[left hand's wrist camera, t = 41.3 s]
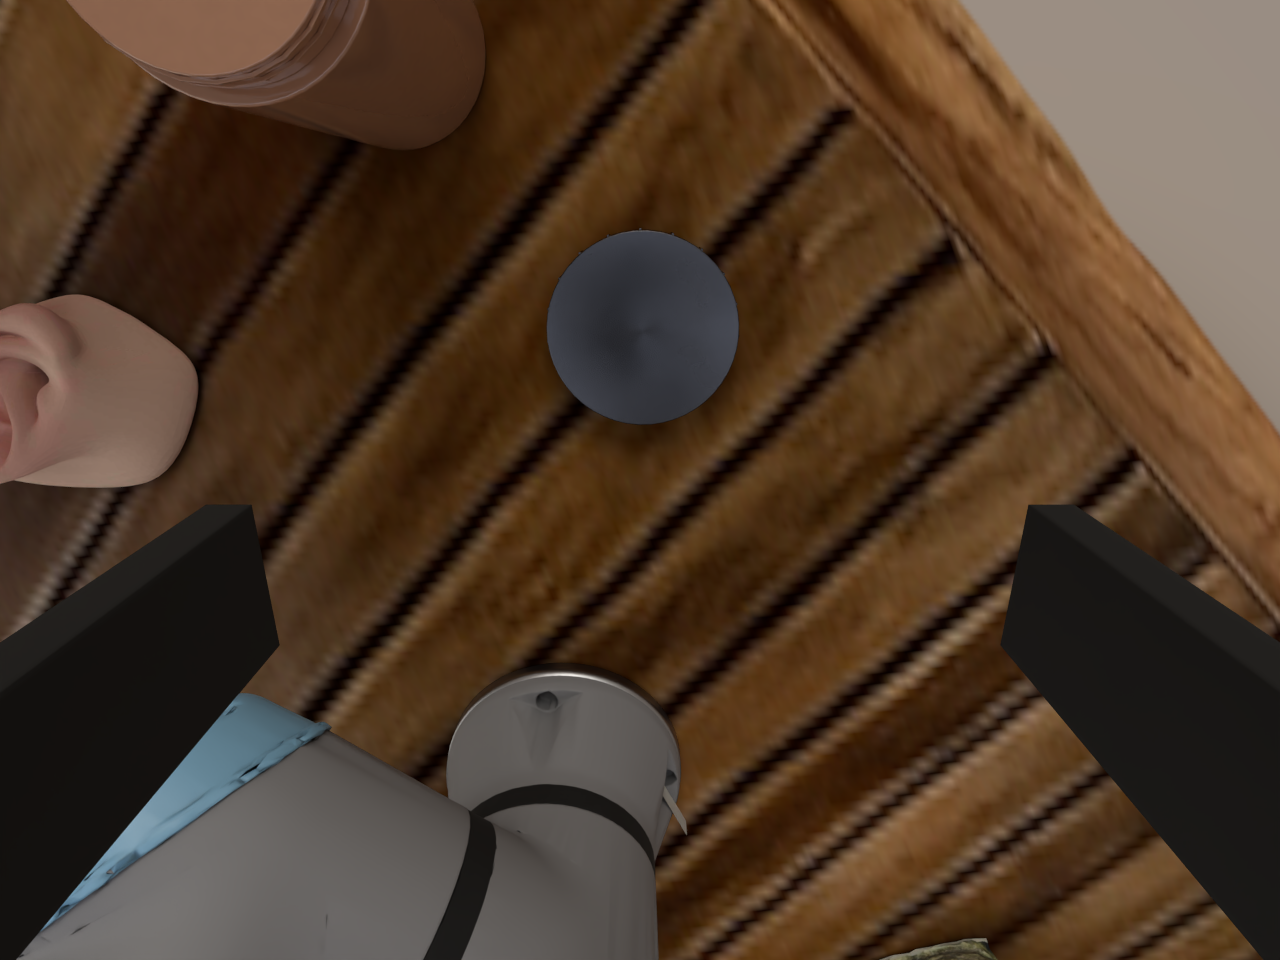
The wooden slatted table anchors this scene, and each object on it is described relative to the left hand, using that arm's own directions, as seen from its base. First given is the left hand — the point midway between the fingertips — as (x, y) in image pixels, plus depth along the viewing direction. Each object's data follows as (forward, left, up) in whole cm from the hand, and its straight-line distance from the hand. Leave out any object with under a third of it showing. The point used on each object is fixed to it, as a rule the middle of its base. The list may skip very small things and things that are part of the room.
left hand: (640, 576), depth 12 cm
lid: (0, 0, -26) cm, 26 cm away
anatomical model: (-22, +22, -28) cm, 42 cm away
